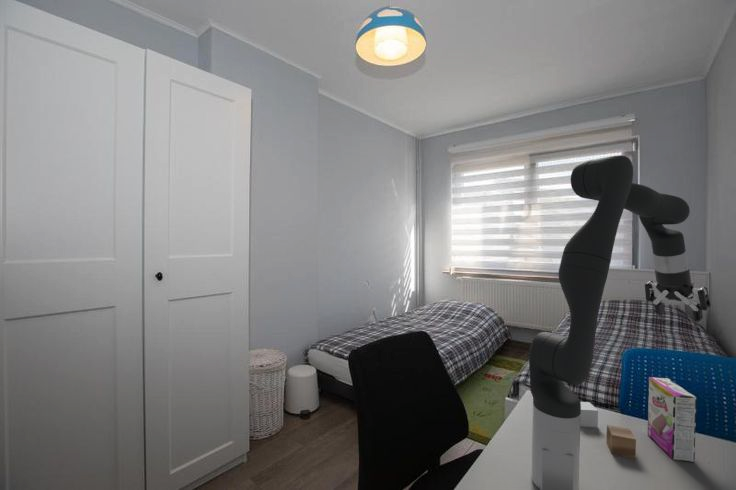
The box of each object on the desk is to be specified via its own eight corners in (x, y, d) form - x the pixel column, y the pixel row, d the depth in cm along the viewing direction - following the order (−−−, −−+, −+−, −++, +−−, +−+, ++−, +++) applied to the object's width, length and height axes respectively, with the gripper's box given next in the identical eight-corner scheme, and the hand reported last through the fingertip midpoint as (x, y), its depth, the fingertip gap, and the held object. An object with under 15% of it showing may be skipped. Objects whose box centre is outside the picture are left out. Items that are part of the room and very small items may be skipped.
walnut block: (635, 459, 86) (636, 439, 86) (611, 454, 88) (611, 434, 88) (629, 447, 91) (629, 428, 91) (606, 443, 93) (606, 424, 93)
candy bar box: (645, 434, 97) (647, 376, 96) (666, 436, 96) (668, 377, 95) (672, 460, 86) (674, 394, 85) (695, 463, 85) (698, 396, 84)
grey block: (597, 427, 100) (598, 410, 100) (579, 426, 101) (579, 409, 101) (589, 418, 105) (589, 402, 105) (571, 417, 106) (571, 401, 106)
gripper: (635, 269, 104) (644, 317, 107) (697, 274, 92) (704, 329, 95) (648, 259, 107) (656, 307, 110) (710, 263, 95) (716, 317, 98)
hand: (678, 317), depth 103 cm, fingers open, 8 cm apart
